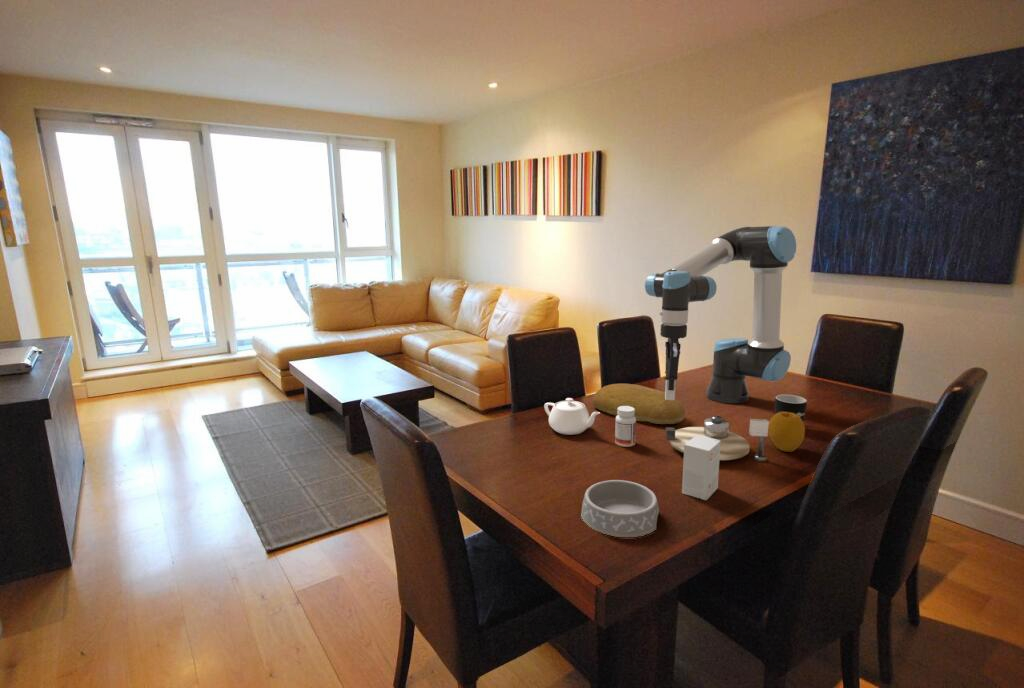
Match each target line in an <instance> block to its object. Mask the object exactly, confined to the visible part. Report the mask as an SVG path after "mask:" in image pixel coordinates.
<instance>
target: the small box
mask: <svg viewBox="0 0 1024 688" xmlns="http://www.w3.org/2000/svg"><path fill="white" fill-rule="evenodd" d="M720 444H721V441H720V440H717V439H712V438H708V437H704V436H699V435H696V436H694V437H693V438H692V439H691V440H689V441H688V442H687V443H686V444H685V445H684V453H683V463H682V484H681V494H683V495H687V496H690V497H693V498H697V499H699V498H700V499H699V500H702V501H708V499H710V498H711V496H712V495H713V494H714V493H715V492H716V491H717V490H718V486H719V471H720V470H719V469H720V460H719V459H720Z"/></svg>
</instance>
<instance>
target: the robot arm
mask: <svg viewBox="0 0 1024 688" xmlns="http://www.w3.org/2000/svg"><path fill="white" fill-rule="evenodd" d="M796 252H797V239H796V236H795V235H794V232H793V231H792V230H791V229H790V228H789V227H786V226H779V225H778V226H777V225H770V226H769V225H767V226H765V225H764V226H743V227H739V228H735V229H732V230H730V231H728V232H726V233H723V234H722V235H720V236H718V237H716V238H715V239H713V240H712V241H710V244H709V246H706V247H705V248H704V249H702V250H700V251H698V252H696V253H694V254H693V255H692V256H689V257H688V258H686V259H685V260H683V261H682V262H679V263H678V264H676V265H675V266H672V267H671V268H669V269H668V270H666V271H664V272H662V273H658V272H657V273H650V274H649V275H648V276H647V277H646V279H645V281H644V289H645V292H646V294H647V295H648V296H651V297H655V298H658V299H659V298H662V301H661V302H662V306H661V312H659V316H661V318H660V319H661V320H660V321H661V324H660V337H662V338H666V339H667V341H665V342H664V343H665V344H664V346H665V373H664V374H665V377H664V381H665V391H664V393H665V400H675V399H676V386H677V385H676V384H677V383H676V382H677V380H678V372H679V362H680V361H679V360H680V355H681V343H680V341H679V339H684V338H686V337H687V334H688V333H687V332H688V325H687V323H688V321H689V304H690V303H693V302H704V301H708V300H711V299H712V298H713V297H715V295H716V293H717V287H718V286H717V283H716V281H715V279H714V278H713V277H711V276H708V275H706V274H707V273H709V272H710V271H712V270H714V269H715V268H717V267H718V266H721V265H727V264H729V263H730V262H735V261H736V262H737V261H746V262H749V268H750V270H752V271H753V273H754V274H753V276H754V278H753V306H752V307H753V308H752V309H753V311H752V338H751V339H749V340H748V339H747V338H742V337H741V338H740V337H739V338H736V337H734V338H732V337H731V338H723V339H719V340H717V341H715V343H714V349H713V363H712V375H711V379H710V382H709V384H708V387H707V389H706V398H707V399H710V400H712V401H714V402H719V403H723V404H742V403H746V402H748V401H749V398H750V397H749V396H750V394H749V389H748V387H747V382H746V377H749V378H750V377H751V378H754V379H758V380H763V381H765V382H766V381H768V382H774V383H775V382H779V381H780V380H782V379H783V378H784V377H785V375H786V374H787V372H788V371H789V368H790V365H791V358H792V357H791V353H790V352H789V351H788V350H786V349H784V348H785V343H784V342H783V341H782V340H781V338H780V334H781V333H780V331H781V330H780V329H781V312H782V311H781V309H782V305H781V304H782V285H783V284H782V283H783V271H784V270H785V269H786V268H788V265H789V262H791V261H792V260H794V257H795V256H796V255H795V254H796Z"/></svg>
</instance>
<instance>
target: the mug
mask: <svg viewBox="0 0 1024 688" xmlns="http://www.w3.org/2000/svg"><path fill="white" fill-rule="evenodd" d="M807 404H808V401H807V399H806V398H804V397H803V396H799V395H793V394H778V395H776V396H775V399H774V415H775V414H777V413H779V412H790V413H794V414H796V415H798V416H799V417H800V418H801V420H802V421H803V422H804V419H805V416H806V410H807Z"/></svg>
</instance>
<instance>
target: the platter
mask: <svg viewBox="0 0 1024 688" xmlns="http://www.w3.org/2000/svg"><path fill="white" fill-rule="evenodd" d="M696 435H699V436H704V437H707V436H705V435H704V426H687V427H683V428H679V429H678V428H677V429H675V427H665V439H666V441H669V444H670V445H671V446H672V448H674V449H675V450H677V451H678V452H681V453H683V454H684V445H685V444H686V443H687V442H688V441H689V440H691V439H692V438H693V437H694V436H696ZM708 438H710V437H708ZM712 439H714V438H712ZM717 440H720V441H721V444H720V459H719V461H731V460H737V459H741V458H744V457H745V456H747V455H748V454H749V453H750V447H751V446H750V443H749V441H748V440H747V439H746V438H744V437H742V436H741V435H740V434H737V433H735V432H732V431H729V433H728V437H727V438H725V439H717Z"/></svg>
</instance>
